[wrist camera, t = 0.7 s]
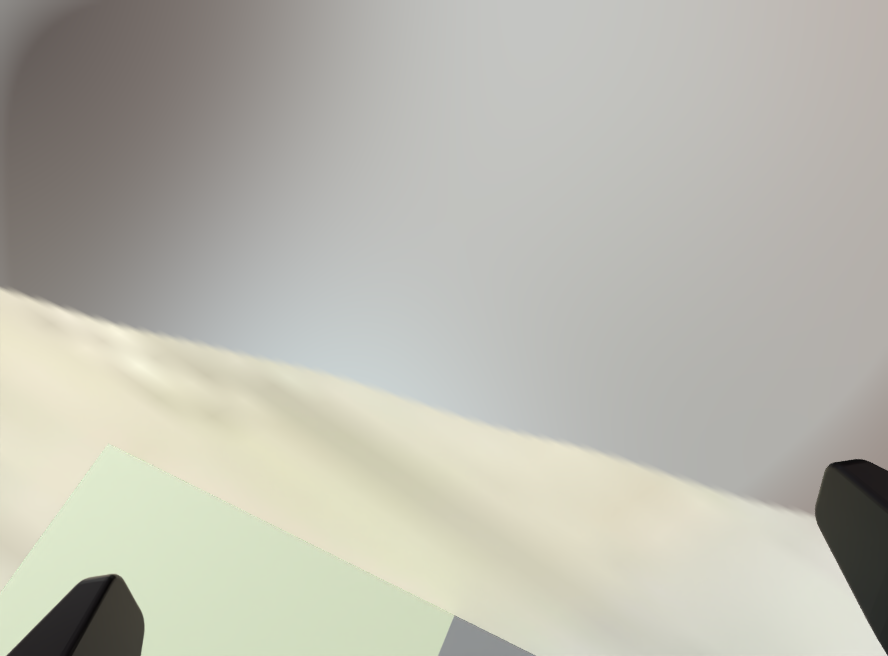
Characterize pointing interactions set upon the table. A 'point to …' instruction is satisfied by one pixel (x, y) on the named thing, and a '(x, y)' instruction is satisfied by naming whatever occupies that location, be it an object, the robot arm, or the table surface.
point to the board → (221, 578)
